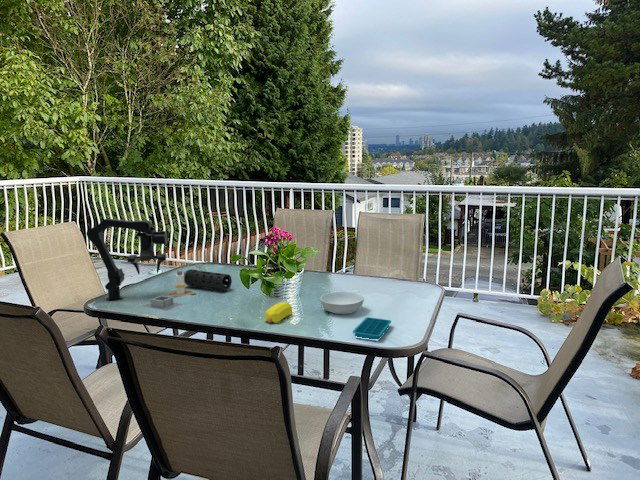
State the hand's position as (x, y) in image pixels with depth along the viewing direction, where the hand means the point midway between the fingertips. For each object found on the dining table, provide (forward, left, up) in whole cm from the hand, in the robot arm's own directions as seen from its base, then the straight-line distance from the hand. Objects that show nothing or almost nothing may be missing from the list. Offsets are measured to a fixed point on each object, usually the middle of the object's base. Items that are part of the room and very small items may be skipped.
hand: (148, 273), depth 244 cm
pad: (+5, +15, -13) cm, 20 cm away
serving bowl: (+82, +63, -13) cm, 104 cm away
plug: (+5, +15, -12) cm, 20 cm away
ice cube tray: (+111, +54, -14) cm, 124 cm away
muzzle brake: (+4, +31, -13) cm, 34 cm away
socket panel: (+20, -1, -13) cm, 24 cm away
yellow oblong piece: (+71, +34, -14) cm, 80 cm away
